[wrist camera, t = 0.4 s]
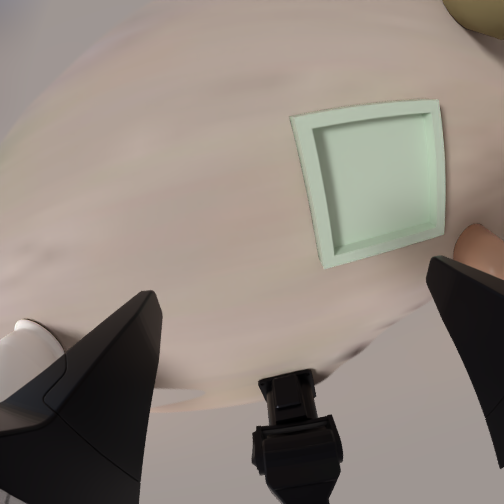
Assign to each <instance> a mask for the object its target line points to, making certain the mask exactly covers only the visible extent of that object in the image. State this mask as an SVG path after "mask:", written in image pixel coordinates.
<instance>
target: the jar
mask: <svg viewBox="0 0 504 504" xmlns="http://www.w3.org/2000/svg"><path fill="white" fill-rule="evenodd" d="M63 354H64V350H63V348H62V346H61V345H60V343H59V342H58V341H57V339H56V338H55V337H54V336H53V335H52V334H51V333H50V332H49V331H47V330H46V329H45V328H44V327H42V326H41V325H39V324H37V323H35V322H33V321H30V320H25V319H22V320H19V321H18V322H17V323H16V324H15V328H14V331H13V332H11V333H9V334H7V335H6V336H4V337H3V338H2V339H1V340H0V402H2V401H4V400H5V399H7V398H8V397H9V396H11V395H12V394H13V393H15V392H16V391H17V390H19V389H20V388H21V387H23V386H24V385H25V384H27V383H28V382H29V381H31V380H32V379H33V378H35V377H36V376H37V375H39V374H40V373H41V372H43V371H44V370H45V369H46V368H48V367H49V366H50V365H51V364H52V363H54V362H55V361H56V360H57V359H58V358H60V357H61V356H62V355H63Z"/></svg>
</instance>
